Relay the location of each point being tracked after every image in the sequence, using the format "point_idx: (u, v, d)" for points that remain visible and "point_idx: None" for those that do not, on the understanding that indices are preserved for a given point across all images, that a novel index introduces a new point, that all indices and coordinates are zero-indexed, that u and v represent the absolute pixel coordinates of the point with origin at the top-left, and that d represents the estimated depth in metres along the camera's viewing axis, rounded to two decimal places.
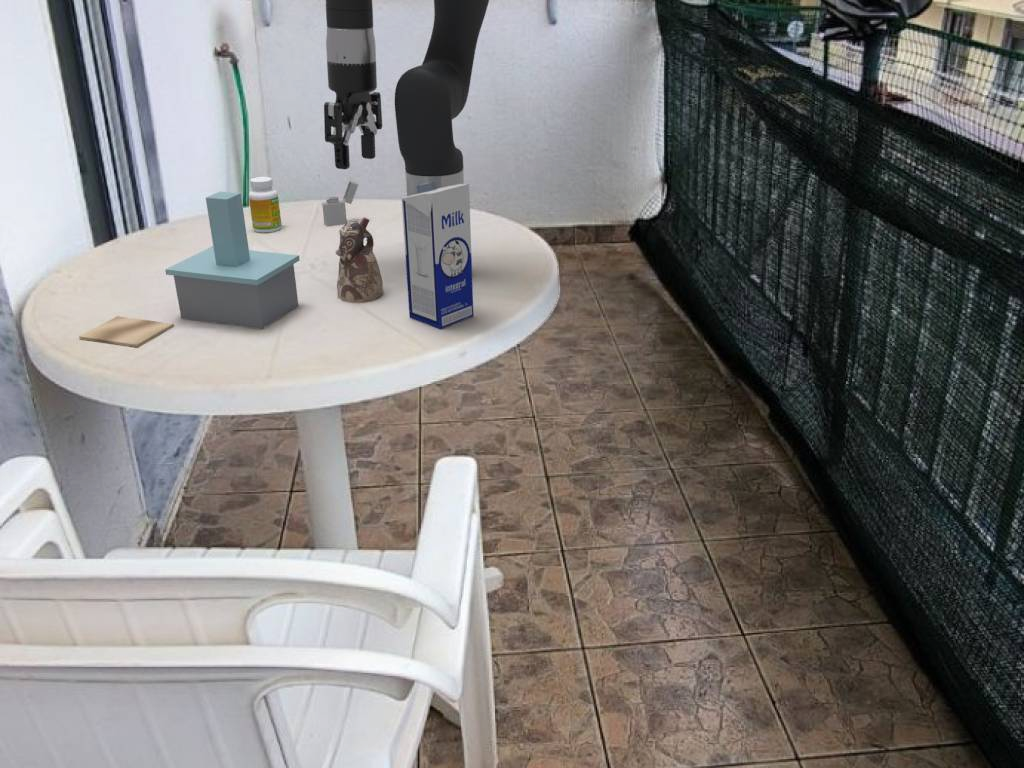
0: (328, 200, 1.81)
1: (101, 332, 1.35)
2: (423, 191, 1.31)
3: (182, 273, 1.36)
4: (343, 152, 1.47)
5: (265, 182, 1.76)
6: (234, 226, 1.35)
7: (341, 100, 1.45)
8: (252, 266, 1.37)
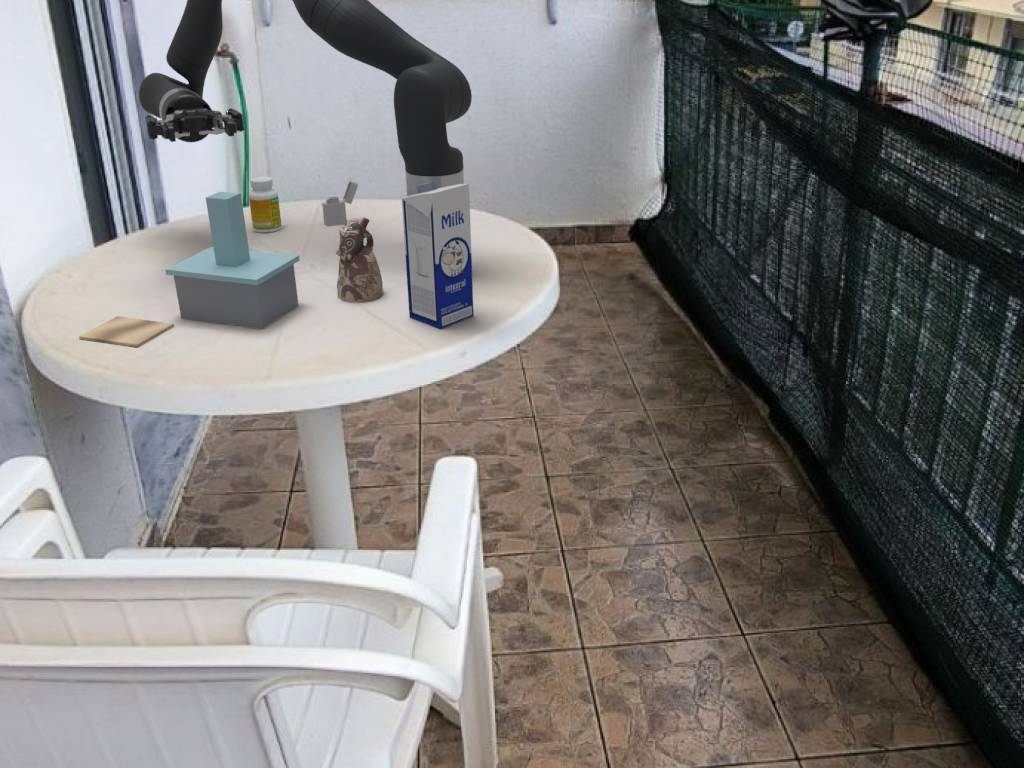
0: (328, 200, 1.81)
1: (101, 332, 1.35)
2: (423, 191, 1.31)
3: (182, 273, 1.36)
4: (164, 127, 1.40)
5: (265, 182, 1.76)
6: (234, 226, 1.35)
7: None
8: (252, 266, 1.37)
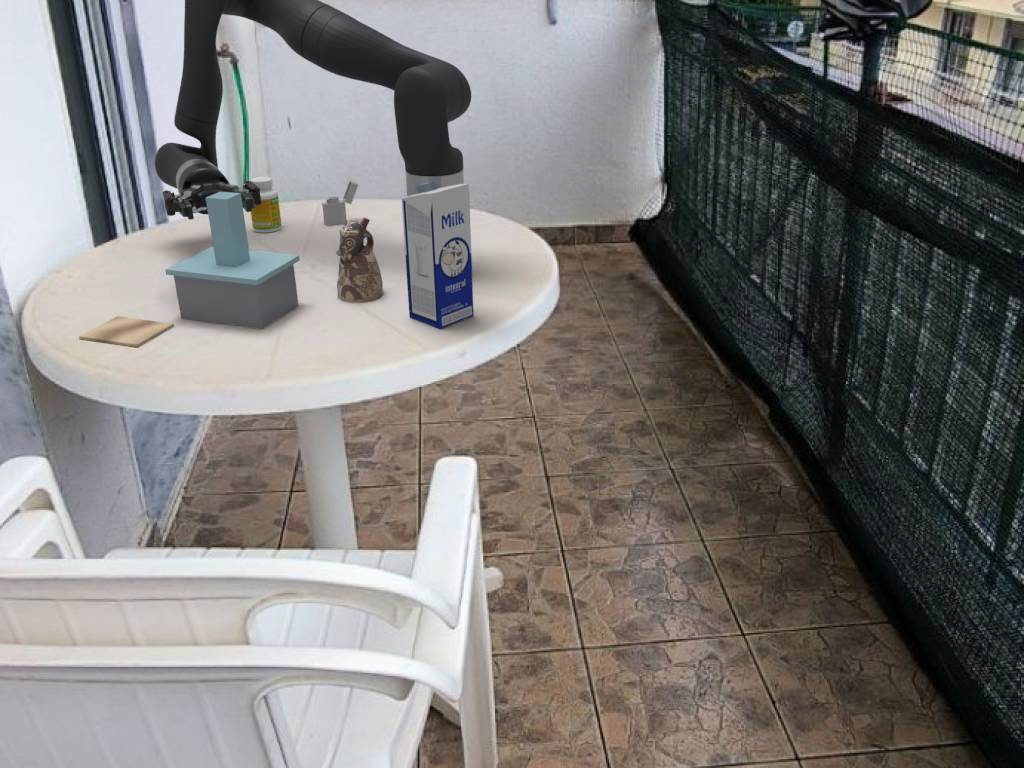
0: (328, 200, 1.81)
1: (101, 332, 1.35)
2: (423, 191, 1.31)
3: (182, 273, 1.36)
4: (182, 204, 1.40)
5: (265, 182, 1.76)
6: (234, 226, 1.35)
7: None
8: (252, 266, 1.37)
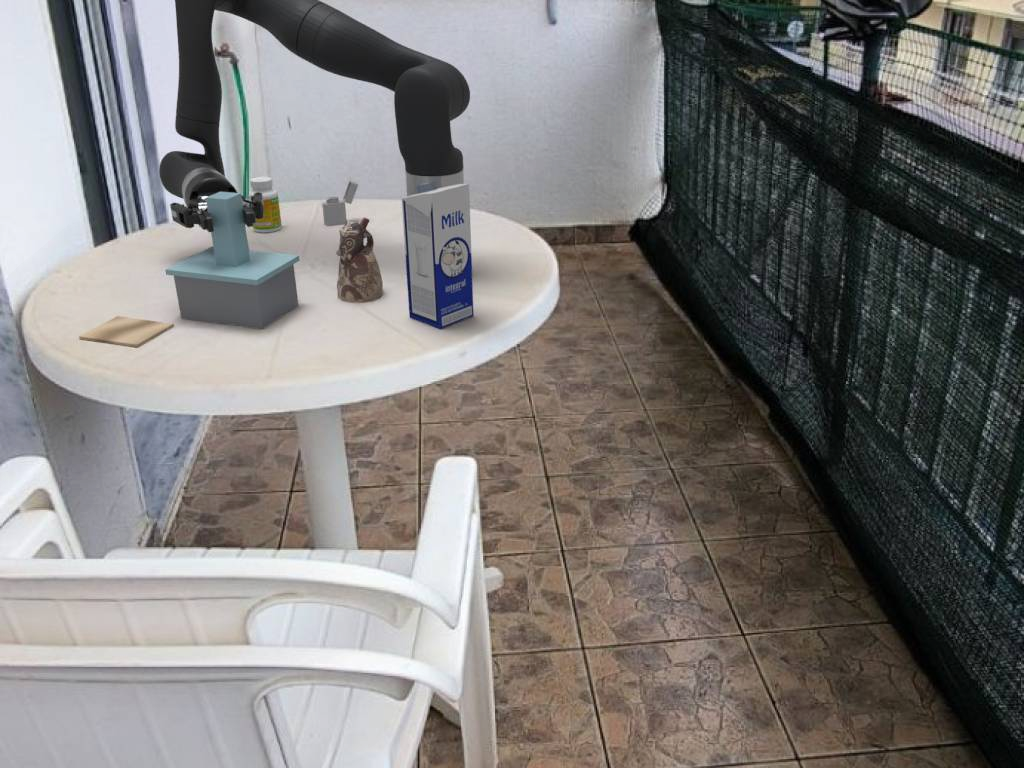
0: (328, 200, 1.81)
1: (101, 332, 1.35)
2: (423, 191, 1.31)
3: (182, 273, 1.36)
4: (201, 216, 1.34)
5: (265, 182, 1.76)
6: (234, 226, 1.35)
7: None
8: (252, 266, 1.37)
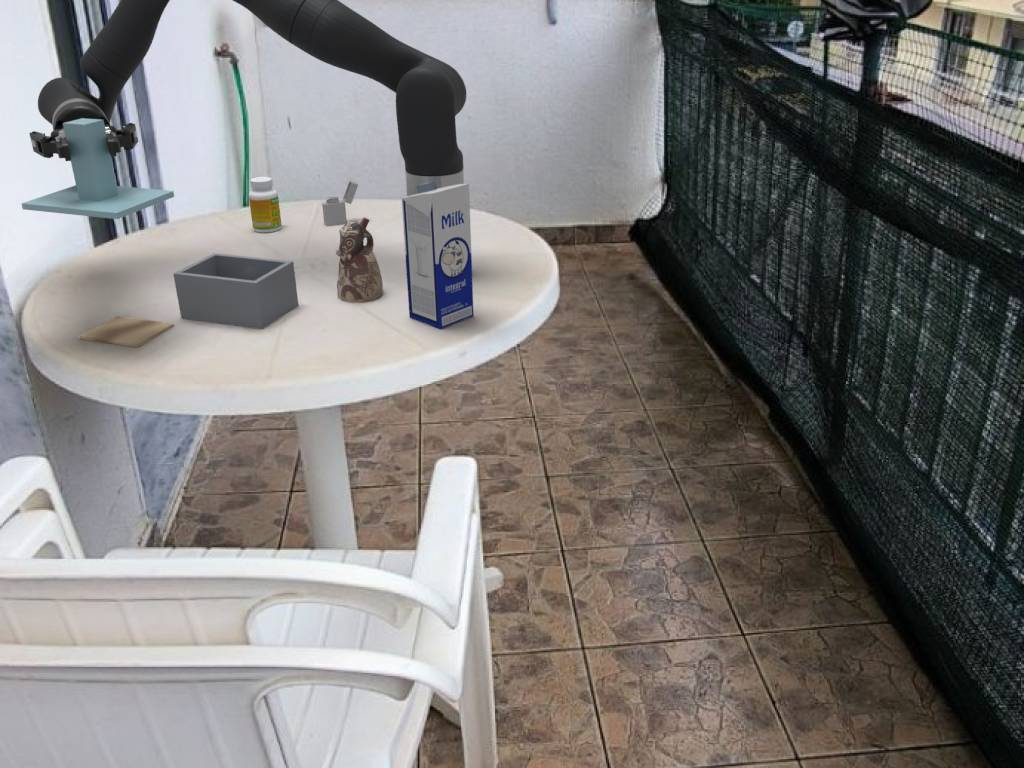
0: (328, 200, 1.81)
1: (101, 332, 1.35)
2: (423, 191, 1.31)
3: (39, 207, 1.24)
4: (58, 144, 1.22)
5: (265, 182, 1.76)
6: (95, 156, 1.23)
7: None
8: (118, 200, 1.25)
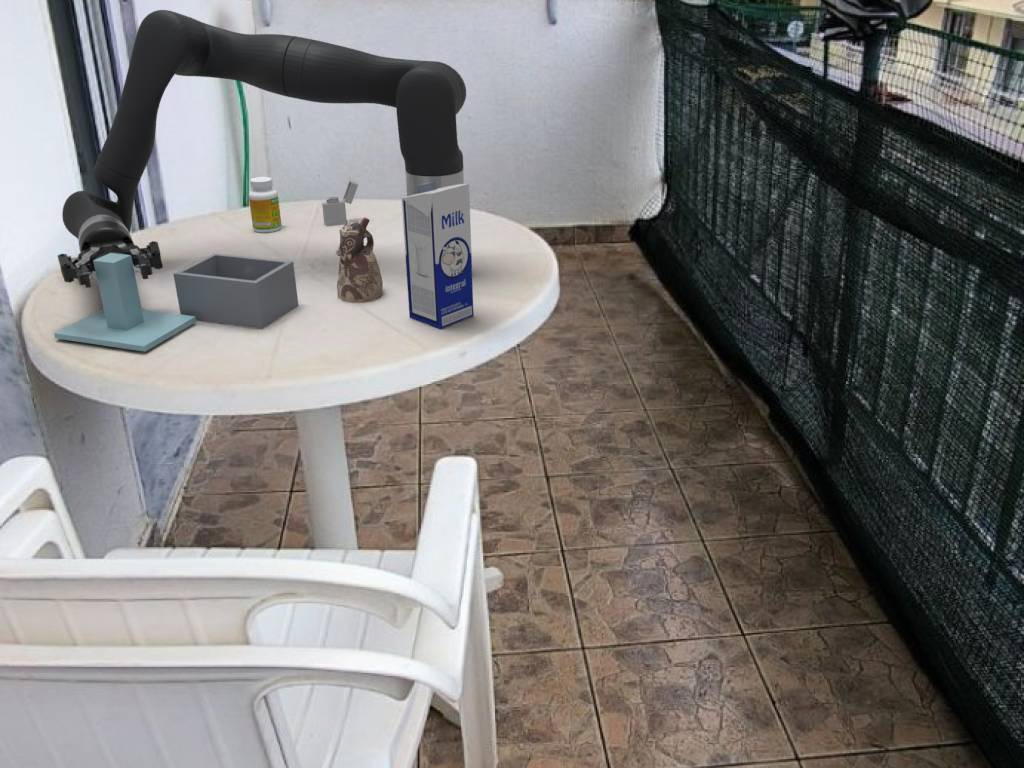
0: (328, 200, 1.81)
1: None
2: (423, 191, 1.31)
3: (71, 337, 1.32)
4: (79, 270, 1.30)
5: (265, 182, 1.76)
6: (123, 289, 1.31)
7: None
8: (144, 329, 1.33)
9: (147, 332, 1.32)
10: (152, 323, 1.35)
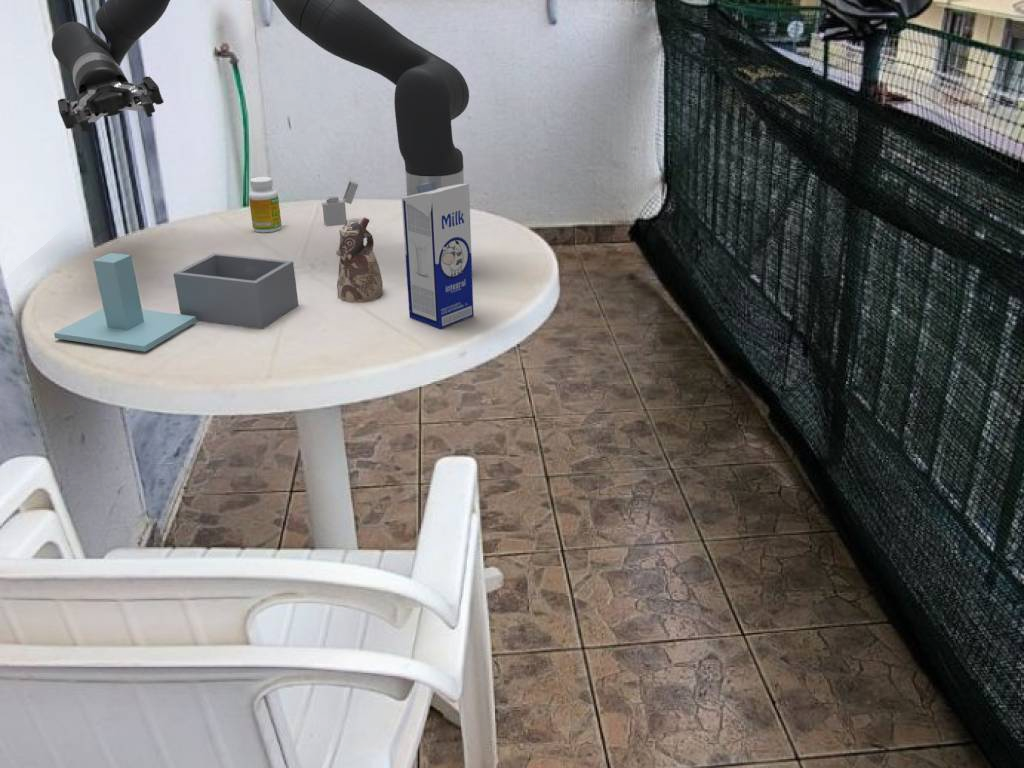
0: (328, 200, 1.81)
1: None
2: (423, 191, 1.31)
3: (71, 337, 1.32)
4: (78, 117, 1.34)
5: (265, 182, 1.76)
6: (123, 289, 1.31)
7: None
8: (144, 329, 1.33)
9: (147, 332, 1.32)
10: (152, 323, 1.35)
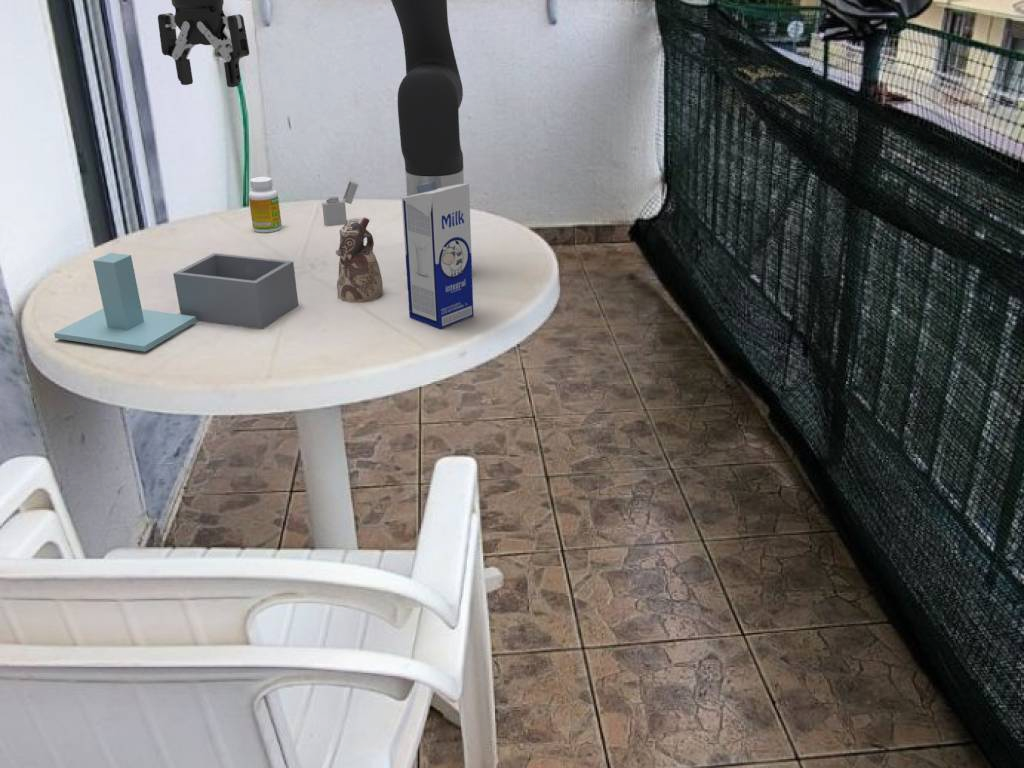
0: (328, 200, 1.81)
1: None
2: (423, 191, 1.31)
3: (71, 337, 1.32)
4: (177, 66, 1.47)
5: (265, 182, 1.76)
6: (123, 289, 1.31)
7: None
8: (144, 329, 1.33)
9: (147, 332, 1.32)
10: (152, 323, 1.35)
